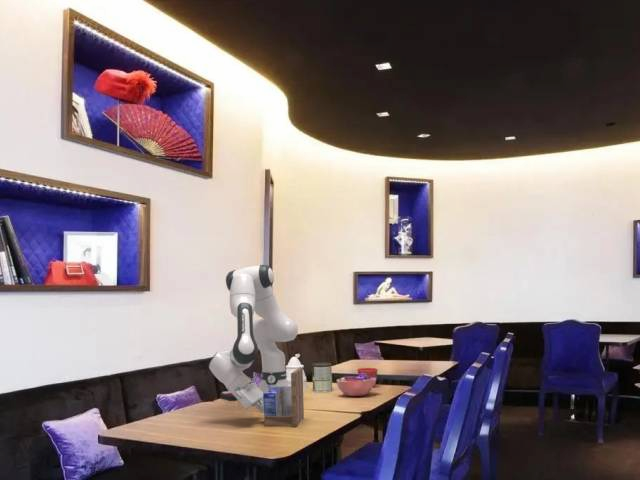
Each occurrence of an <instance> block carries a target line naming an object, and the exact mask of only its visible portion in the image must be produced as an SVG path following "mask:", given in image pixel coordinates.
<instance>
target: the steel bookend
mask: <svg viewBox="0 0 640 480" xmlns="http://www.w3.org/2000/svg"><path fill="white" fill-rule="evenodd" d="M272 389H281V398H282V416H292V395H291V386H279V387H272Z"/></svg>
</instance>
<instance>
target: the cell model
mask: <svg viewBox="0 0 640 480" xmlns="http://www.w3.org/2000/svg"><path fill="white" fill-rule="evenodd" d="M375 382H376V383H377V378H373V377H367V375H366V374H365V373H364V372H360V373H359V375H357V376H354V375H353V376H349V375H344V377H340V378H338V379H336V385H337V388H338V389H339V391H341V392H342V394H344V395H345V396H351V397H363V396H366V395H367V394H369V393H370V392H371V391H372V389H374V388H373V386H374V384H375Z"/></svg>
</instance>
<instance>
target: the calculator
mask: <svg viewBox="0 0 640 480" xmlns="http://www.w3.org/2000/svg"><path fill="white" fill-rule="evenodd" d="M220 399H221V400H225V401H228V402H234V401H235V402H236V401H238V399H237V398H236V397H235V396H234V395H233V394H232V393H231V392H230V391H229V390H227V391H222V392H221V393H220Z"/></svg>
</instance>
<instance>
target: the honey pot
mask: <svg viewBox="0 0 640 480" xmlns="http://www.w3.org/2000/svg"><path fill="white" fill-rule="evenodd" d="M300 356H301V354H300V353H296V354H295V356H292V357H291V358H290V359H289V361H288V363H287V365H285V370H286V373H287V378H286V379H287V381H288V383H289V386H291V373H292V372H294V371H295V370H297V369H298V368H303V388H304V389H307V388H308V387H307V386H308V383H307V381H308V380H307V376H306V374H305V371H304V367H305V365H303V364H302V363H301V361H300V360H299V359H298V358H300ZM306 387H307V388H306Z"/></svg>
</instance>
